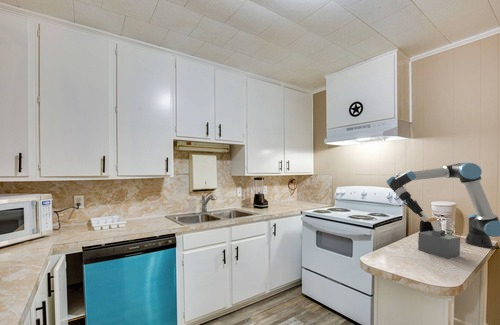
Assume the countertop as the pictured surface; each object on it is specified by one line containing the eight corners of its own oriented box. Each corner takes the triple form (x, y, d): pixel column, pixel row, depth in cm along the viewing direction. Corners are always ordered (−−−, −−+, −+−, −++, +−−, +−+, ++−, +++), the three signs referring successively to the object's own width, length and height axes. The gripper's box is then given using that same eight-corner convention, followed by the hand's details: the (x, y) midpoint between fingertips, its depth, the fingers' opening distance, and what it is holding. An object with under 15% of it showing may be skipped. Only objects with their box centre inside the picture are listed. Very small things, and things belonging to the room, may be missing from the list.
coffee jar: (440, 245, 180) (440, 221, 180) (425, 245, 180) (426, 221, 180) (429, 241, 190) (430, 218, 191) (416, 240, 191) (416, 217, 191)
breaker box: (429, 247, 175) (429, 226, 176) (459, 255, 159) (460, 233, 159) (418, 249, 169) (418, 228, 169) (448, 259, 153) (449, 235, 153)
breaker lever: (439, 233, 166) (432, 218, 170) (443, 233, 164) (436, 217, 168) (435, 234, 164) (428, 218, 168) (439, 234, 162) (431, 218, 166)
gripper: (404, 196, 192) (427, 222, 177) (394, 197, 186) (417, 224, 171) (411, 190, 187) (435, 216, 172) (401, 191, 181) (425, 218, 166)
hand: (426, 220), depth 171 cm, fingers closed
